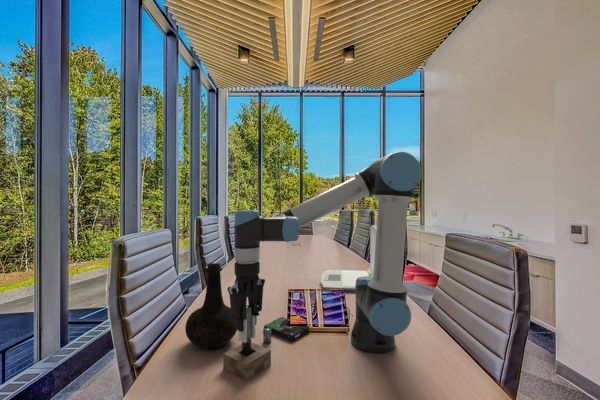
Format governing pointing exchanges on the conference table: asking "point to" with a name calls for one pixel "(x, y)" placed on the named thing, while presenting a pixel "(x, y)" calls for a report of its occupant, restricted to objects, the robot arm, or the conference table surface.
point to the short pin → (267, 335)
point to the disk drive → (286, 330)
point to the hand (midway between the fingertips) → (247, 338)
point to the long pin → (247, 346)
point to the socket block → (247, 361)
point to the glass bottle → (211, 315)
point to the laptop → (349, 271)
